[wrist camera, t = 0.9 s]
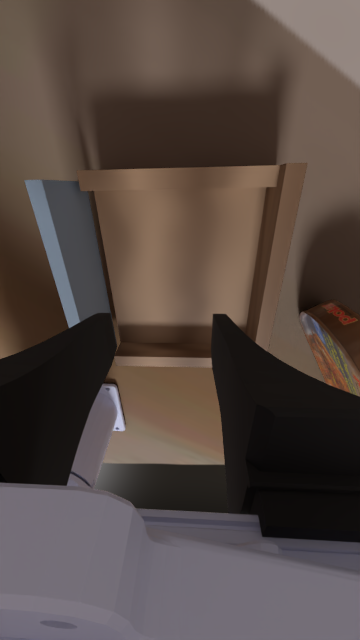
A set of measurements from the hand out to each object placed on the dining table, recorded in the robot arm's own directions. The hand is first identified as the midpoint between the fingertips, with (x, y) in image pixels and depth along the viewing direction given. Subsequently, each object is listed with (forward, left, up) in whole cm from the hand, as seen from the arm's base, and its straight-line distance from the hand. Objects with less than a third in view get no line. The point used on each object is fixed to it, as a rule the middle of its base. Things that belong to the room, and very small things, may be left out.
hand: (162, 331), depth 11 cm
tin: (+15, -8, -10) cm, 20 cm away
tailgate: (-5, 0, -7) cm, 9 cm away
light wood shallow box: (+1, 0, -9) cm, 9 cm away
